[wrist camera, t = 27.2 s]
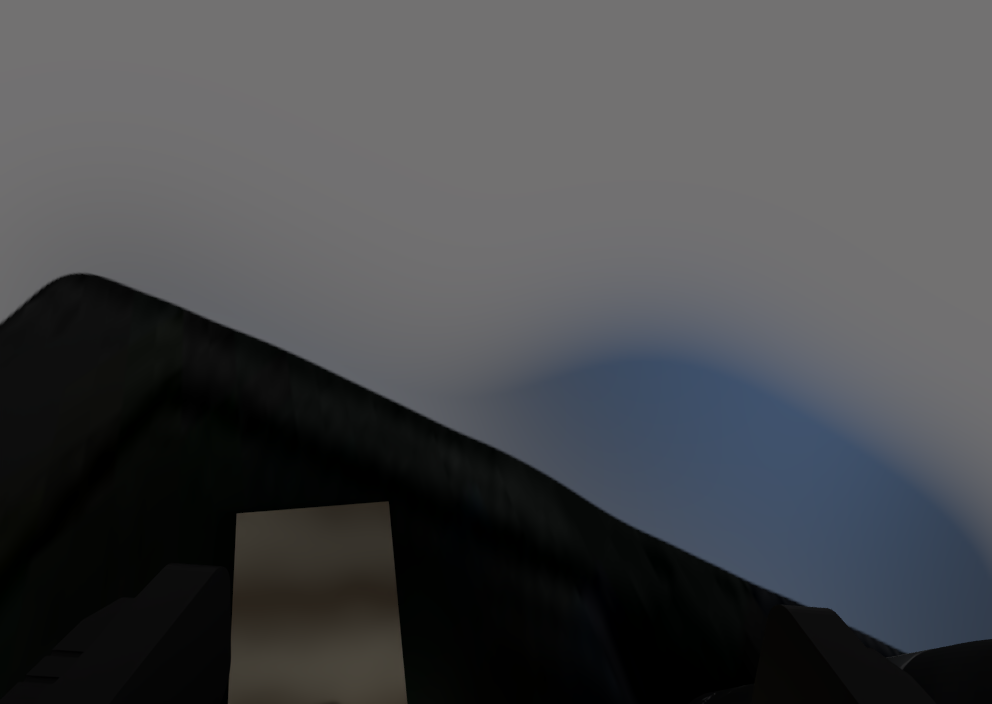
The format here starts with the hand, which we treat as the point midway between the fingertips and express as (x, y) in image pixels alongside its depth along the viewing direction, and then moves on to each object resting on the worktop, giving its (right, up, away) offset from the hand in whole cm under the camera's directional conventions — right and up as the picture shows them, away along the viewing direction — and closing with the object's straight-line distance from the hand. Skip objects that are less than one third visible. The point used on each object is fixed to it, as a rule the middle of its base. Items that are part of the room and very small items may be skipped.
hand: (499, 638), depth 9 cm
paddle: (-10, -15, +25) cm, 30 cm away
